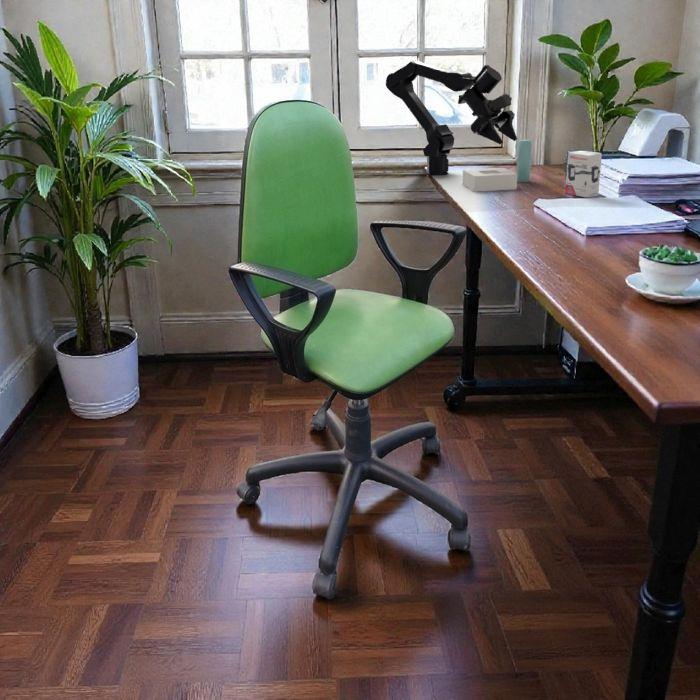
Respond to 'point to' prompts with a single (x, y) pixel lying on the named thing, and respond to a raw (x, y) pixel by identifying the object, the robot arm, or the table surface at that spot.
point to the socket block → (489, 179)
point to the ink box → (583, 173)
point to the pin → (524, 160)
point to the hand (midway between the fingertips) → (508, 141)
